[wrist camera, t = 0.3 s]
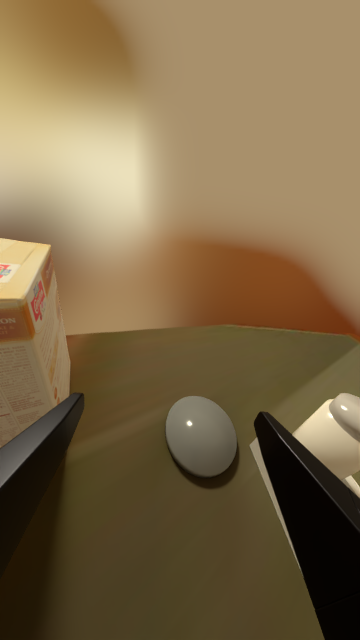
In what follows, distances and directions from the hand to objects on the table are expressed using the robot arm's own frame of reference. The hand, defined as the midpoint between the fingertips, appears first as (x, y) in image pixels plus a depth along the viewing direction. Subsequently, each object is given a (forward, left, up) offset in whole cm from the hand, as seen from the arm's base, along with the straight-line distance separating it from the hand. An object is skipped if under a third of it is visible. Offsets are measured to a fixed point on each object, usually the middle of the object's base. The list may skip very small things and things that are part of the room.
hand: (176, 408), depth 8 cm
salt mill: (+2, -20, -17) cm, 26 cm away
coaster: (+7, -8, -17) cm, 20 cm away
